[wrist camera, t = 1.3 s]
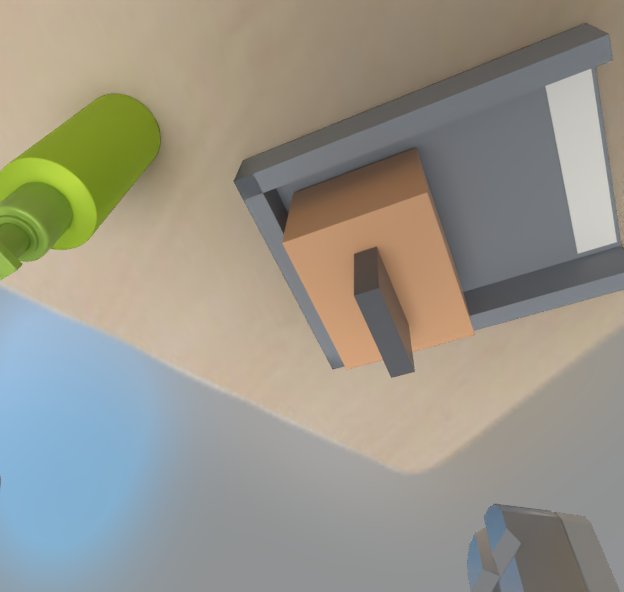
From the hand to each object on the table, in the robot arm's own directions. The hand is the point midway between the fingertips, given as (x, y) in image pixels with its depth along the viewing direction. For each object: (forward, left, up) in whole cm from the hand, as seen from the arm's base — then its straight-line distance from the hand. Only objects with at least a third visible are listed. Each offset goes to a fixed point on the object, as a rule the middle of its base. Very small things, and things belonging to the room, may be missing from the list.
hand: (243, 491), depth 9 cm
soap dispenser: (+18, 0, -36) cm, 40 cm away
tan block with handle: (+2, +15, -35) cm, 38 cm away
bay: (-3, +15, -36) cm, 39 cm away
